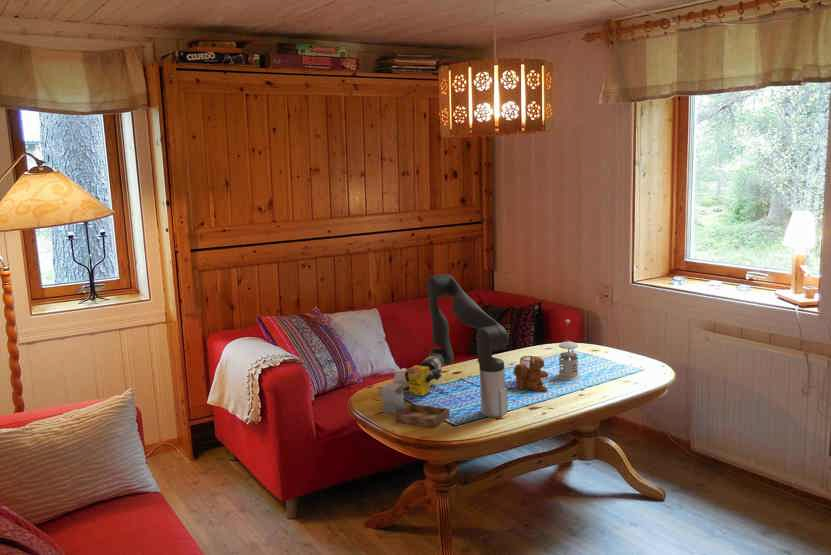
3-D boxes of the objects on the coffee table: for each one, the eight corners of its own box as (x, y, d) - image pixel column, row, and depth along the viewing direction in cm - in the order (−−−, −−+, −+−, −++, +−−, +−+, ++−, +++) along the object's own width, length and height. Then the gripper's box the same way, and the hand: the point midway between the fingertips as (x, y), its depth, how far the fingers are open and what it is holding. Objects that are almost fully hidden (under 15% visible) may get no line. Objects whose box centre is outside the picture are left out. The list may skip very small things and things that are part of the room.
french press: (555, 379, 299) (554, 321, 295) (559, 371, 310) (558, 315, 306) (578, 380, 296) (577, 322, 292) (582, 372, 307) (581, 316, 302)
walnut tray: (449, 416, 263) (449, 408, 263) (435, 427, 253) (434, 419, 253) (412, 411, 271) (411, 403, 270) (396, 422, 261) (396, 414, 260)
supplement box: (409, 395, 273) (407, 368, 271) (418, 391, 278) (416, 364, 276) (422, 398, 269) (420, 370, 268) (430, 393, 274) (429, 366, 273)
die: (416, 390, 297) (418, 369, 301) (400, 385, 292) (402, 363, 296) (403, 393, 302) (405, 372, 307) (388, 388, 297) (390, 366, 302)
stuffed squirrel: (548, 392, 284) (548, 360, 282) (513, 392, 286) (512, 360, 284) (548, 384, 294) (547, 353, 292) (513, 384, 296) (513, 353, 294)
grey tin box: (404, 409, 274) (402, 384, 272) (396, 414, 269) (395, 389, 267) (390, 407, 277) (389, 382, 275) (383, 412, 271) (381, 387, 270)
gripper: (412, 358, 288) (399, 370, 272) (446, 359, 283) (434, 371, 268) (413, 375, 289) (400, 388, 273) (447, 376, 284) (435, 390, 269)
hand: (417, 380), depth 271 cm, fingers closed on supplement box, 7 cm apart
